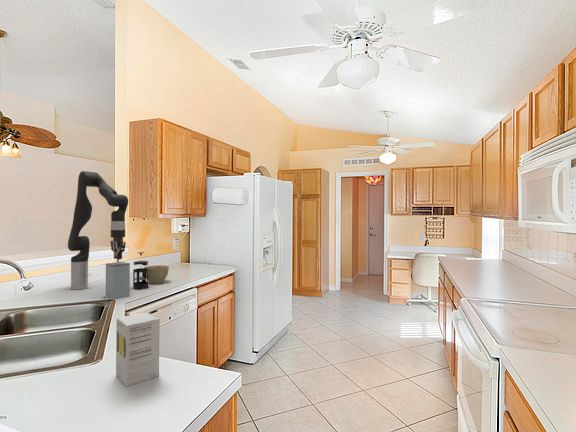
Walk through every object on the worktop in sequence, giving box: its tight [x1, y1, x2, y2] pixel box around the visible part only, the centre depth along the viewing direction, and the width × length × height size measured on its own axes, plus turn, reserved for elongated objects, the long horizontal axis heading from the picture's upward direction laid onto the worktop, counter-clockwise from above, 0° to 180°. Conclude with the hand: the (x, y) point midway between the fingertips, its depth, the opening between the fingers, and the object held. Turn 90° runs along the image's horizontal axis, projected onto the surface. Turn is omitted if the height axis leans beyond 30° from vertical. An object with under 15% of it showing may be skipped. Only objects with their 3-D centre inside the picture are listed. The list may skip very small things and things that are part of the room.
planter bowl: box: [143, 265, 170, 285], centre depth 226 cm, size 16×16×11 cm
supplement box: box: [115, 311, 161, 387], centre depth 95 cm, size 10×9×17 cm
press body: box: [105, 261, 131, 300], centre depth 187 cm, size 9×9×19 cm
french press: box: [132, 251, 150, 291], centre depth 210 cm, size 12×9×23 cm
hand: (117, 258), depth 187 cm, fingers closed on plunger, 4 cm apart
